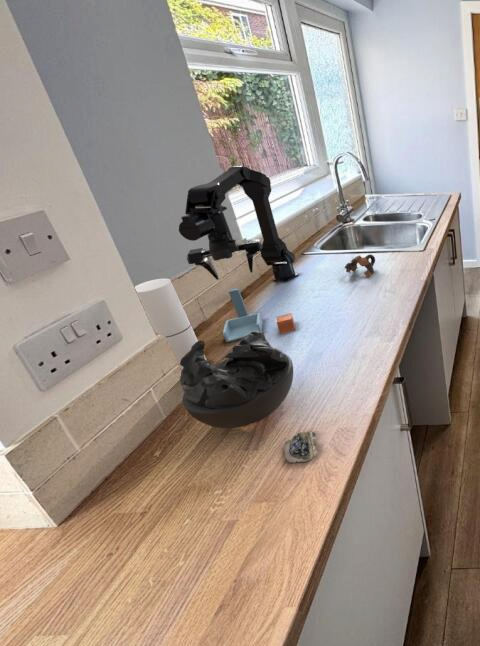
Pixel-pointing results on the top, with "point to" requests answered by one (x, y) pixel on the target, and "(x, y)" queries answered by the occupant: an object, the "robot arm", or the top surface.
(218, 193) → the robot arm
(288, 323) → the block
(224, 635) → the top surface
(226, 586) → the top surface
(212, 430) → the top surface
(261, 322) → the pale blue channel tray
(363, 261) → the toy animal figurine
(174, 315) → the cylindrical container
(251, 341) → the bowl of black rocks
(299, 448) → the geode slice
